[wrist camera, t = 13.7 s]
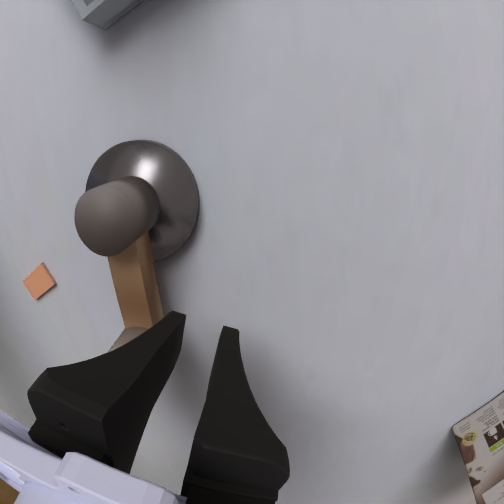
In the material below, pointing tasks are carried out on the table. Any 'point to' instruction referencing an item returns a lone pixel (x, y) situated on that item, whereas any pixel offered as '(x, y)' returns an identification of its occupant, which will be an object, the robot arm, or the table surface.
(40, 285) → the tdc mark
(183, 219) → the crank base
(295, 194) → the table surface
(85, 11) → the tray
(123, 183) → the crank lever
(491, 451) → the coffee box
